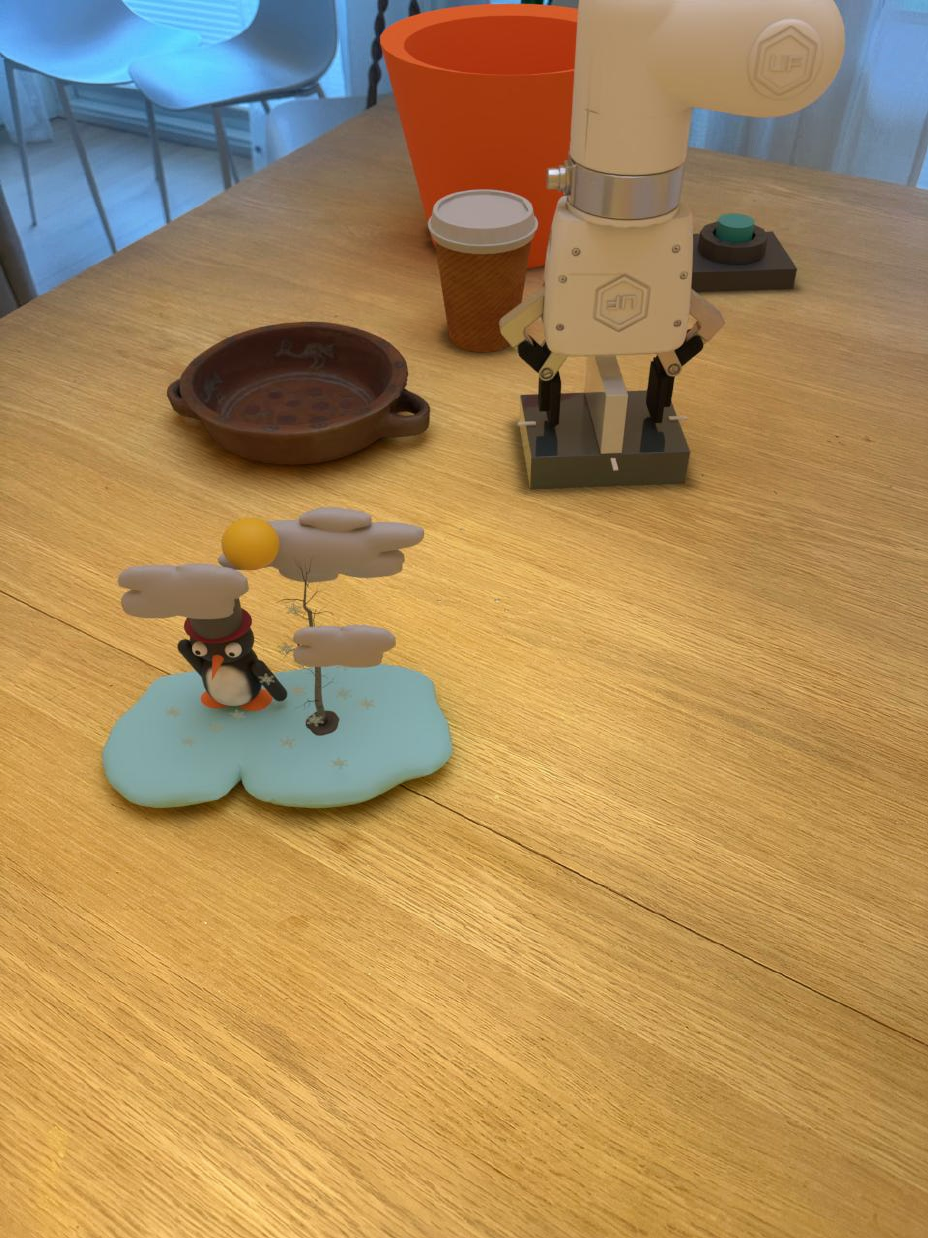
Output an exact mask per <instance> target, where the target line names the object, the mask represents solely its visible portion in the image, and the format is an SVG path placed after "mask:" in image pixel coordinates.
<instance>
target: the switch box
mask: <svg viewBox="0 0 928 1238" xmlns="http://www.w3.org/2000/svg"><path fill="white" fill-rule="evenodd" d="M716 228H717V221H714V222H711V223H707V224H705V225H704V226H703V227H702V228H701V230H699V233H693V264H692V282H691V289H693V290H694V291H695V292H696V293H715V292H747V291H749V292H751V291H778V290H780V291H781V290H793V289H794V285H795V281H796V278H797V277H796V276H797V271H798V268H797V266H796V264H795V263H794V262H793V260H792V259H791V257H790V255H789V254H788V252H787V251H786V249H785V247H784V246H783V245H782V243H781V241H780V240H779V239H778V237H777V235H776V234H775V233H774V231H766V230H765V229H764V228H762V227H760V226H758V225H756V224H754V229H753V235H752V240H750V241H747V242H728V241H723V240H721V239H719V238H717V237H715V234H716Z"/></svg>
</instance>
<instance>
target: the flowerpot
mask: <svg viewBox="0 0 928 1238" xmlns="http://www.w3.org/2000/svg"><path fill="white" fill-rule="evenodd" d="M577 18H578V8H575V7H569V6H563V5H562V6H561V5H552V4H551V5H550V4H538V3H484V4H471V5H460V6H452V7H446V8H440V9H434V10H430V11H424V12H421V13H417V14H414V15H411V16H408V17H405V18H402V19H400V20H398V21H395V22H394V23H392V24H390V25H389V26H387V27H386V28H385V29H384V30H383V31H382V33H381V34H380V36H379V37H380V38H379V44H380V48H381V51H382V56H383V60H384V64H385V67H386V71H387V74H388V78H389V81H390V87H391V90H392V93H393V97H394V101H395V104H396V109H397V113H398V116H399V119H400V123H401V127H402V132H403V135H404V139H405V144H406V147H407V150H408V154H409V158H410V162H411V166H412V169H413V173H414V177H415V180H416V181H415V182H416V185H417V189H418V192H419V196H420V200H421V204H422V208H423V211H424V215H425V219H426V223H427V224H428V221H429V219H430V217H431V216H432V212H433V207H434V205H435V204H436V202H437V201H439V200H440V199H441V198H443V197H445V196H448V195H450V194H453V193H457V192H462V191H468V190H498V191H505V192H510V193H513V194H516V195H519V196H521V197H523V198H525V199H527V200H528V201H529V202H530V203H531V204H532V207H533V212H534V216H535V217H536V218H537V221H538V228H537V230H536V231H535V233H534V237H533V239H532V240H531V247H530V253H529V259H528V266H527V269H533V268H538V267H542V266H545V262H546V255H547V248H548V242H549V236H550V231H551V227H552V222H553V218H554V214H555V210H556V207H557V203H558V201H559V199H560V198H561V197H563V196H565V195H564V192H563V191H558V189H547V187H546V171H547V168H558V165H564V160H567V155H568V151H570V141H571V120H572V103H573V86H574V69H575V52H576V35H577ZM429 233H430V238H431V242H432V244H433V247H435V241H434V239H433V237H432V235H431V232H430V231H429Z"/></svg>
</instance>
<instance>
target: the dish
mask: <svg viewBox="0 0 928 1238" xmlns="http://www.w3.org/2000/svg"><path fill="white" fill-rule="evenodd" d="M408 377H409V368H408V364H407V360H406V358H405V357H404V355H403V354H402V353H401V352H400V350H399V349H397V348H396V347H395V346H394V345H393V344H392V343H391V342H389V341H387V340H386V339H384V338H382V337H380V336H378V335H376V334H374V333H371V332H369V331H367V330H363V329H360V328H357V327H353V326H349V325H344V324H340V323H334V322H328V321H295V322H294V321H293V322H282V323H281V322H280V323H277V324H269V325H264V326H259V327H256V328H252V329H247V330H244V331H242V332H238V333H235V334H233V335H231V336H228V337H226V338H224V339H222V340H220V341H218V342H216V343H215V344H213V345H211V346H210V347H208V348H207V349H205V350H204V351H203V352H201V353H200V354H198V355H197V356H196V357H194V359H193V360H191V362H190V363H189V364H188V365H187V366H186V368H185V369H184V370H183V372H182V374H181V376H180V377H179V378H177V379H176V380H175V381H173V382H171V383H170V384H169V386H167V389H166V397H167V399H168V401H169V403H170V406H171V407H172V410H173V411H174V412H175V413H177V414H178V415H180V416H183V417H186V418H191V419H195V420H197V421H198V420H199V421H200V422H201V423H202V424H203V427H204V428H205V429H206V431H207V432H208V434H209V435H210V437H212V439H214V441H215V442H216V443H217V444H219V445H220V446H221V447H222V448H223V449H225V450H226V451H229V452H230V453H233V454H234V455H236V456H239V457H242V458H244V459H247V460H250V461H255V462H258V463H259V462H260V463H268V464H275V465H289V466H290V465H292V466H294V465H308V464H315V463H316V464H317V463H322V462H329V461H333V460H338V459H341V458H345V457H347V456H351V455H352V454H354V453H357V452H360V451H361V450H363V449H366V448H367V447H369V446H370V445H372V444H374V443H375V442H377V441H378V440H379V439H381V438H404V437H407V438H408V437H413V436H417V435H421V434H423V433H424V432H426V431H427V430H428V429H429V426H430V421H431V406H430V404H429V403H428V401H427V400H426V399H424V398H423V397H422V396H420V395H419V394H416V393H415V392H412V391H410V390H408V389H407V388H406V387H407V385H408ZM399 413H410V414H409V415H403V414H402V415H401V414H399Z"/></svg>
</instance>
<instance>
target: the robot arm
mask: <svg viewBox="0 0 928 1238" xmlns="http://www.w3.org/2000/svg"><path fill="white" fill-rule="evenodd" d="M577 9H578V18H577V35H576V52H575V69H574V86H573V103H572V120H571V141H570V151H568V155H567V160H564V165H558V168H547V171H546V187H547V189H558V191H563V192H564V195H565V196H563V197H561V198H560V199H559V201H558V203H557V207H556V210H555V214H554V218H553V222H552V227H551V231H550V236H549V242H548V248H547V255H546V262H545V265H544V271H543V280H542V286H541V288H539V289H538V290H537V291H535V292H534V293H532V294H531V295H530V296H529V297H527V298H526V299H525V300H522V303H521V304H519V305H518V306H517V307H515V308H514V309H513V310H511V311H510V312H509V313H507V314H506V315H505V316H503V317H502V318H501V319H500V320H499V327H500V333H501V334H502V336H503V337H504V338H505V339H506V340H507V341H508V343H509V344H510V347H512V349H514V350H515V351H516V353H517V354H518V356H519V358H520V359H521V360H522V361H524V363H526V364H527V365H528V366H529V367H530V368H531V369H533V371H535V373H537V374H538V386H537V387H538V389H537V394H538V407H539V411H540V412H542V411H546V413H547V418H548V423H549V427H556V425H559V415H560V399H561V393H562V380H561V375H560V369H561V367H562V366H563V364H564V362H565V361H566V360H567V358H568V357H571V358H575V357H580V358H581V357H584V358H585V357H586V358H587V356H616V357H617V356H642V355H643V356H644V355H656V356H655V357H653V358H652V360H651V361H650V364H649V373H648V381H647V388H646V390H647V395H646V405H647V408H648V411H649V414H650V417H651V420H652V421H654V423H662V419H663V412H664V407H670V405H671V401H672V398H673V392H674V386H675V379H676V377H677V376H679V375H680V374H681V373H682V371H683V366H685V365H686V364H688V363H689V362H690V361H692V359H693V358H694V357H696V356H697V355H698V354H700V352H702V351H703V349H704V345H705V344H706V343H708V342H710V341H711V339H712V338H714V337H715V336H716V335H717V334H718V332H719V331H721V330H722V328H723V327H724V326H725V319H724V317H723V314H722V313H721V311H720V310H719V309H718V308H716V307H715V306H714V305H713V304H712V303H710V302H709V301H708V300H707V299H705V298H704V297H703V296H701V295H700V294H699V292H695V291H694V290H693V289H691V282H692V264H693V234H694V224H693V211H692V208H691V206H690V204H689V203H687V202H688V201H686V200H685V198H683V197H682V193H683V184H684V176H685V168H686V161H687V159H686V158H687V155H688V154H687V153H688V146H689V140H690V131H691V124H692V116H693V109H700V110H706V111H713V112H719V113H725V114H729V115H735V116H742V117H749V118H760V119H763V118H764V119H768V118H778V117H784V116H789V115H791V114H794V113H797V112H799V111H801V110H803V109H805V108H807V107H808V106H810V105H812V104H813V103H814V102H816V100H818V99H819V98H820V97H821V96H823V94H824V93H825V92H826V91H827V90H828V88H829V87H830V86H831V85H832V84H833V82H834V80H835V78H836V76H837V75H838V73H839V70H840V68H841V66H842V62H843V59H844V55H845V49H846V31H845V25H844V20H843V17H842V15H841V12H840V10H839V7H838V5H837V3H836V2H835V1H834V0H578V6H577ZM690 316H691V317H692V318H694V319H695V320H696V322H695V323H694V324H693V325H692V327H691V328H688V326H689V318H690ZM540 318H541V323H542V324H543V336H544V339H543V341H542V343H541V344H540V343H538V342H537V340H535V338H533V337H532V336H531V335H529V334H528V333H527V332H526V330H525V329H526V328H527V327H529V326H530V325H531V324H533V323H534V322H536V321H537V320H539V319H540Z"/></svg>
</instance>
